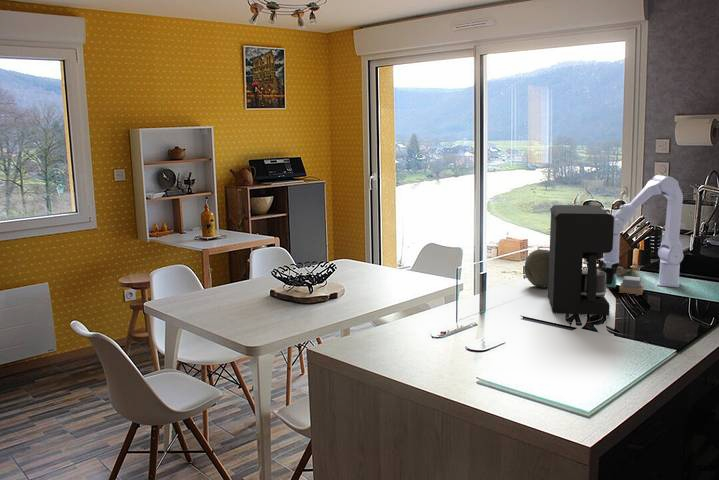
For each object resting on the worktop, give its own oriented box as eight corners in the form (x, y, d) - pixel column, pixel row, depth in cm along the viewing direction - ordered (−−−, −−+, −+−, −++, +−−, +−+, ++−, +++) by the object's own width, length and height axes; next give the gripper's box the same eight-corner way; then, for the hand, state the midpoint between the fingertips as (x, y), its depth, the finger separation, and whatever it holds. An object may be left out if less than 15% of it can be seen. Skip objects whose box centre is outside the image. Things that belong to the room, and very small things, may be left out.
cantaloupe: (562, 291, 264) (564, 253, 262) (525, 290, 266) (526, 252, 264) (558, 283, 278) (559, 247, 275) (522, 282, 280) (523, 246, 278)
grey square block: (623, 283, 265) (624, 276, 265) (640, 284, 263) (640, 277, 262) (622, 286, 260) (622, 279, 260) (639, 288, 257) (639, 280, 257)
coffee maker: (613, 319, 227) (619, 214, 221) (552, 316, 230) (556, 213, 225) (601, 298, 254) (605, 204, 248) (547, 296, 258) (550, 204, 252)
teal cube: (604, 284, 276) (605, 273, 275) (616, 285, 274) (616, 274, 273) (602, 286, 272) (603, 275, 271) (614, 287, 270) (615, 276, 269)
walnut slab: (621, 290, 267) (621, 282, 267) (643, 292, 264) (643, 284, 263) (618, 294, 260) (619, 287, 260) (641, 296, 257) (641, 289, 256)
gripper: (603, 245, 278) (601, 277, 281) (598, 251, 266) (596, 285, 268) (621, 246, 275) (620, 279, 278) (617, 252, 263) (615, 286, 265)
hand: (609, 282), depth 273 cm, fingers open, 7 cm apart
